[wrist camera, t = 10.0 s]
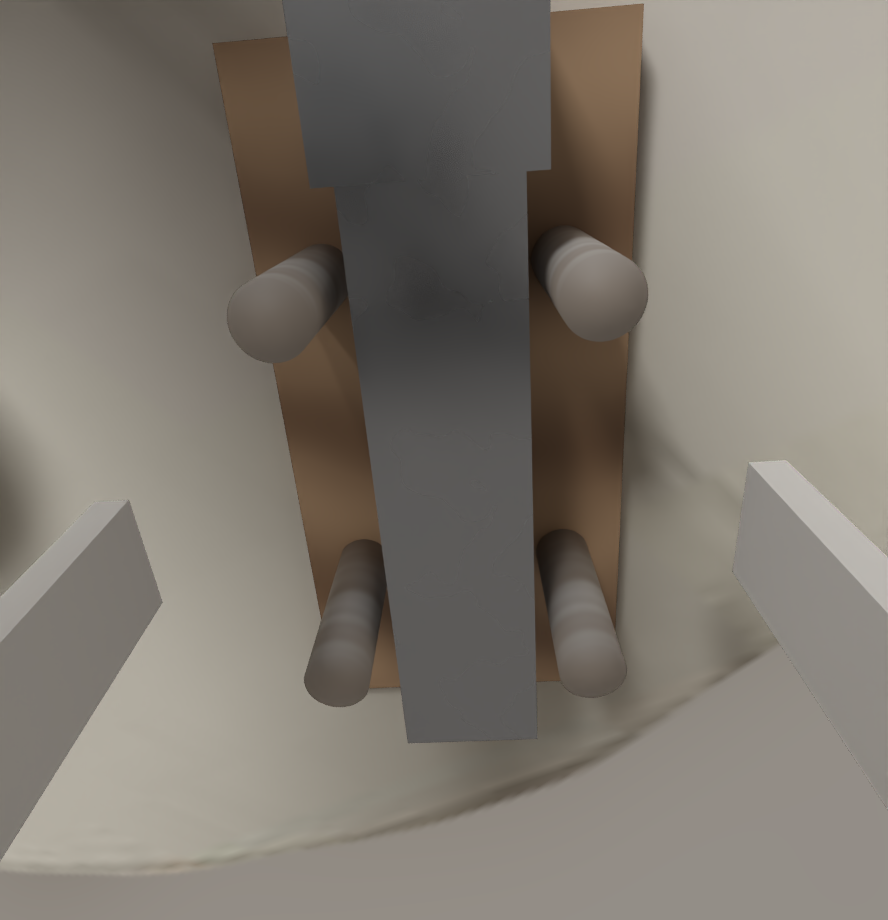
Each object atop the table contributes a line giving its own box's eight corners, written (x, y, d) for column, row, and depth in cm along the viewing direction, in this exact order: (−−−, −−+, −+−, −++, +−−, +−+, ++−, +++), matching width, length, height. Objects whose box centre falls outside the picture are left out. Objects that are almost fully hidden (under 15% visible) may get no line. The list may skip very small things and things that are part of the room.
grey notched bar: (326, 9, 16) (275, -48, 12) (525, -10, 16) (549, -75, 12) (404, 636, 25) (391, 743, 20) (536, 630, 25) (553, 738, 20)
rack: (230, 51, 18) (93, -12, 11) (629, 15, 18) (735, -75, 11) (340, 663, 27) (301, 830, 21) (605, 652, 27) (654, 820, 20)
